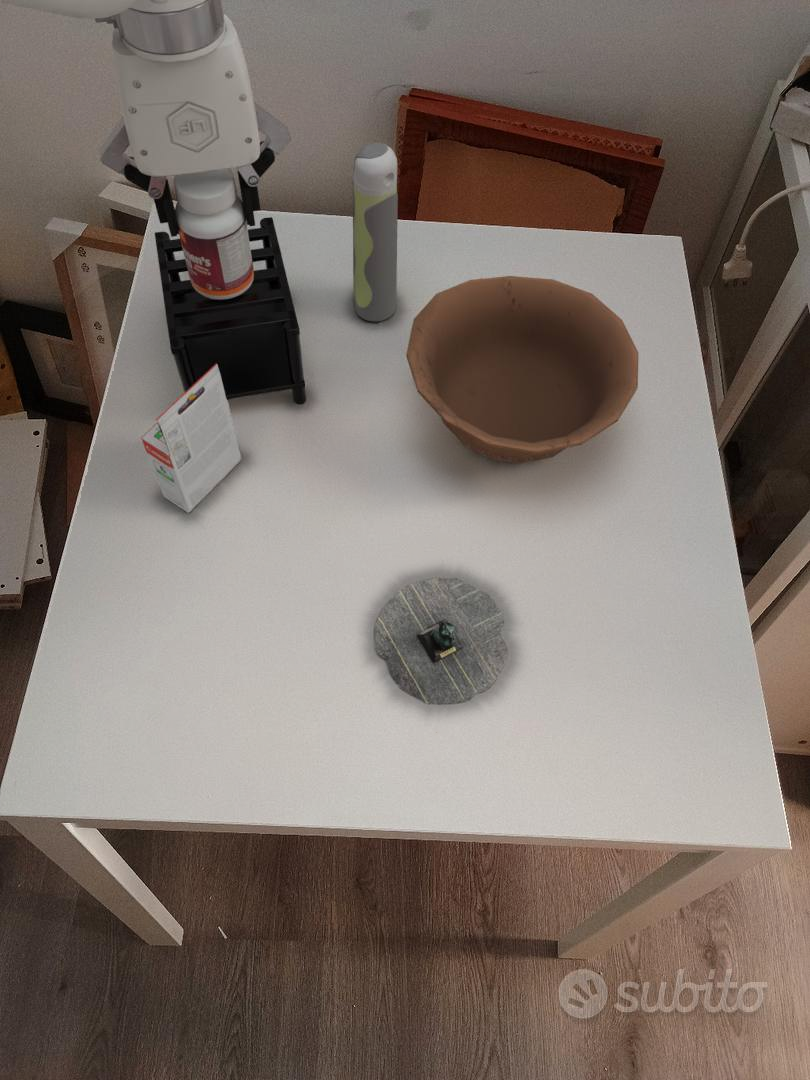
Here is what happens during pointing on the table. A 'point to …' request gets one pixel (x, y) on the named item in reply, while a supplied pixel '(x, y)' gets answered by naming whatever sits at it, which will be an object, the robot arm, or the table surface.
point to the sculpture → (441, 640)
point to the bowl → (522, 365)
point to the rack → (235, 324)
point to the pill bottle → (213, 233)
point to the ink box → (193, 443)
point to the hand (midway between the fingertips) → (211, 219)
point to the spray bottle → (375, 232)
